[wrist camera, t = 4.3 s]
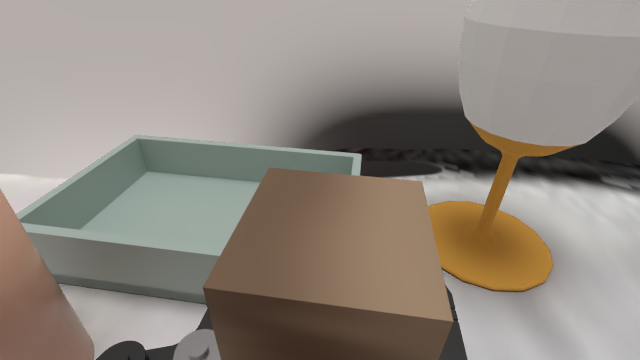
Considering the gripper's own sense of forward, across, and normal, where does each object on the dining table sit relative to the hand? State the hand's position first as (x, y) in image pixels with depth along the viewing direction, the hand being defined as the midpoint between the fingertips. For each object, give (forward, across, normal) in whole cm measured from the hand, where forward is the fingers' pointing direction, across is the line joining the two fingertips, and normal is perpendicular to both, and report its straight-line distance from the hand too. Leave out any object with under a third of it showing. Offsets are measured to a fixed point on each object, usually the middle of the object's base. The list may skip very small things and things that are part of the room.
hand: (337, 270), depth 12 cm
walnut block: (-3, 0, +6) cm, 7 cm away
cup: (+10, -10, +7) cm, 16 cm away
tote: (+8, +9, +6) cm, 14 cm away
